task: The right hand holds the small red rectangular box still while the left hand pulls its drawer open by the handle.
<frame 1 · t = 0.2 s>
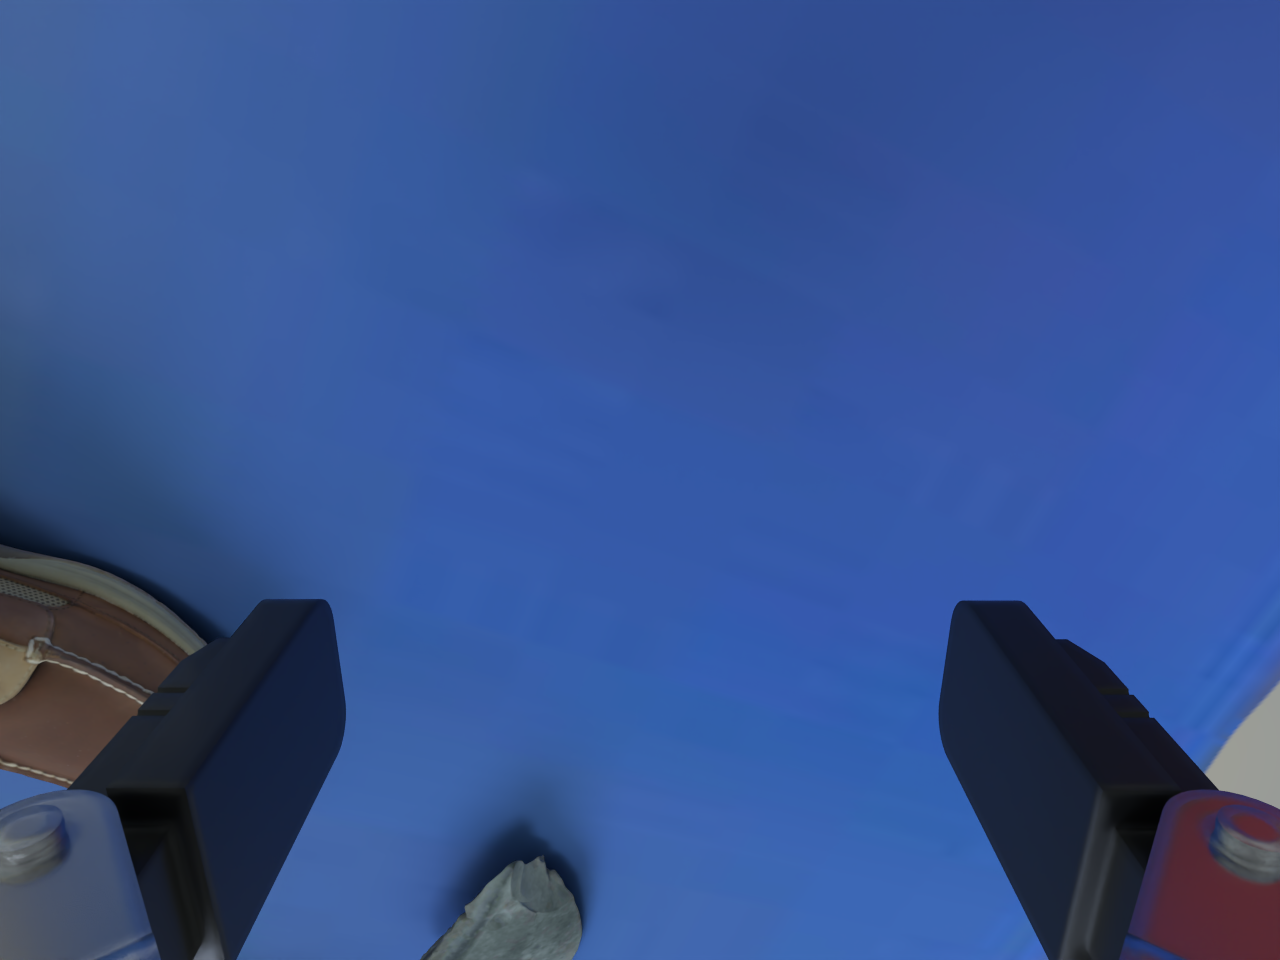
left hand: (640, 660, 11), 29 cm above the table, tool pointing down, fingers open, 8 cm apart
boat shoe: (0, 602, 44), on the table
stone: (521, 911, 51), on the table
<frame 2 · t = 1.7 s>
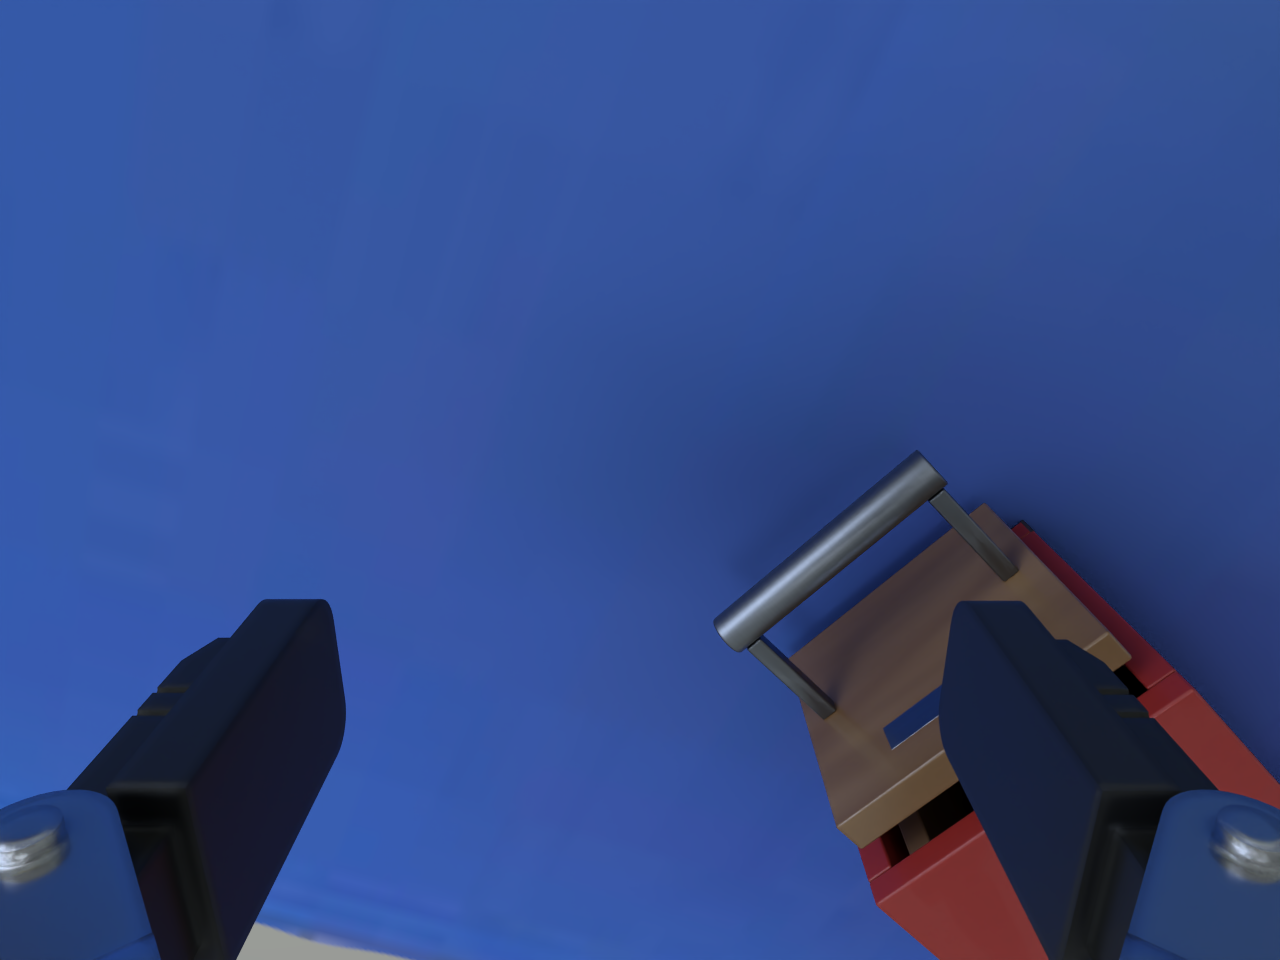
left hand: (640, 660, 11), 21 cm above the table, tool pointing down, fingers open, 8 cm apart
drawer: (1024, 753, 30), point 5 cm above the table, slide at 1.0 cm
red rectangular box: (1046, 744, 37), on the table
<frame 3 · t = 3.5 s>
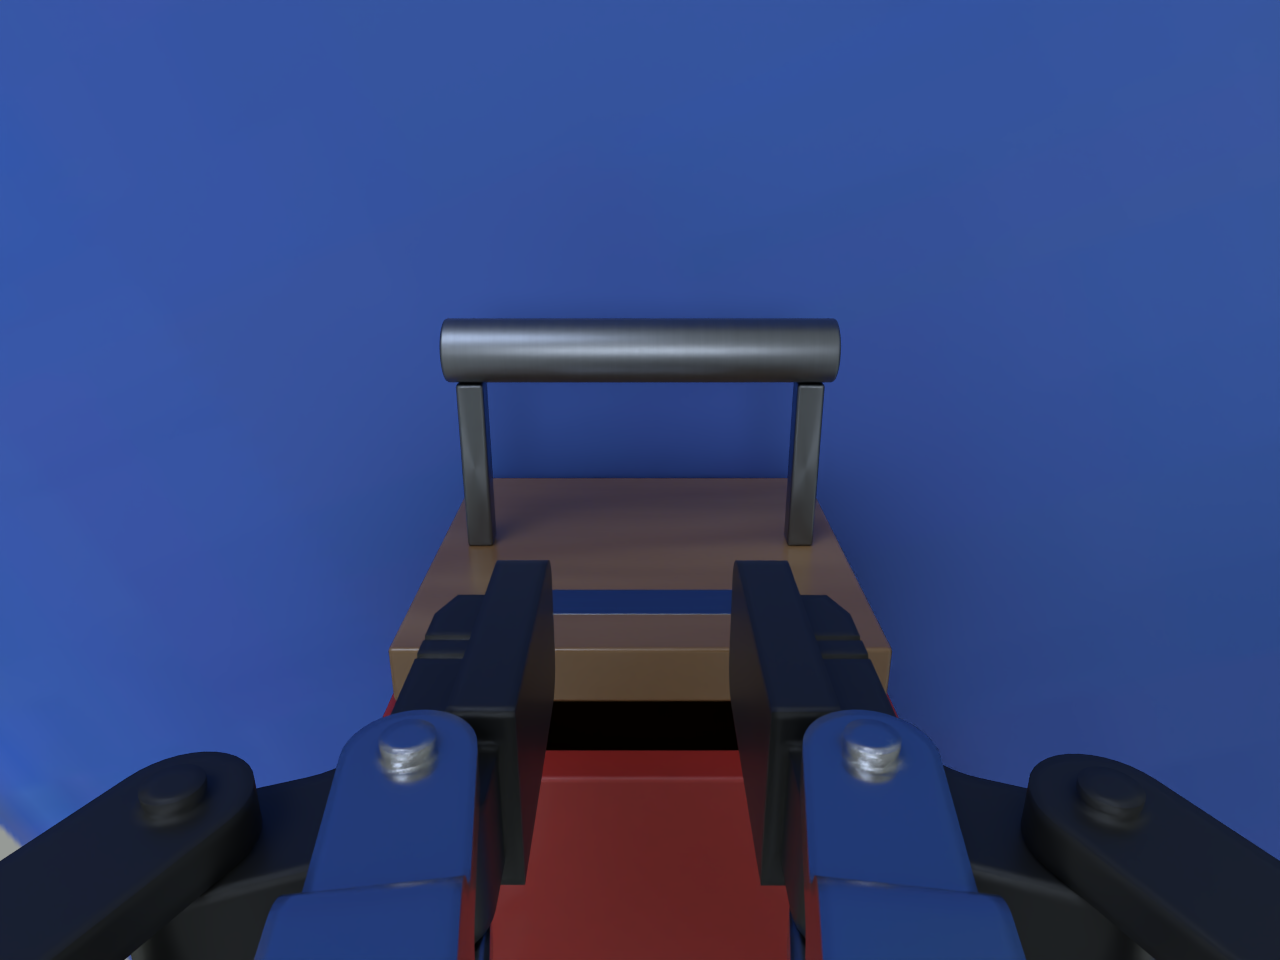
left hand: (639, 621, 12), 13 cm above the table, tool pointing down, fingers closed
drawer: (640, 753, 23), point 5 cm above the table, slide at 1.0 cm
red rectangular box: (640, 779, 30), on the table, touching right hand
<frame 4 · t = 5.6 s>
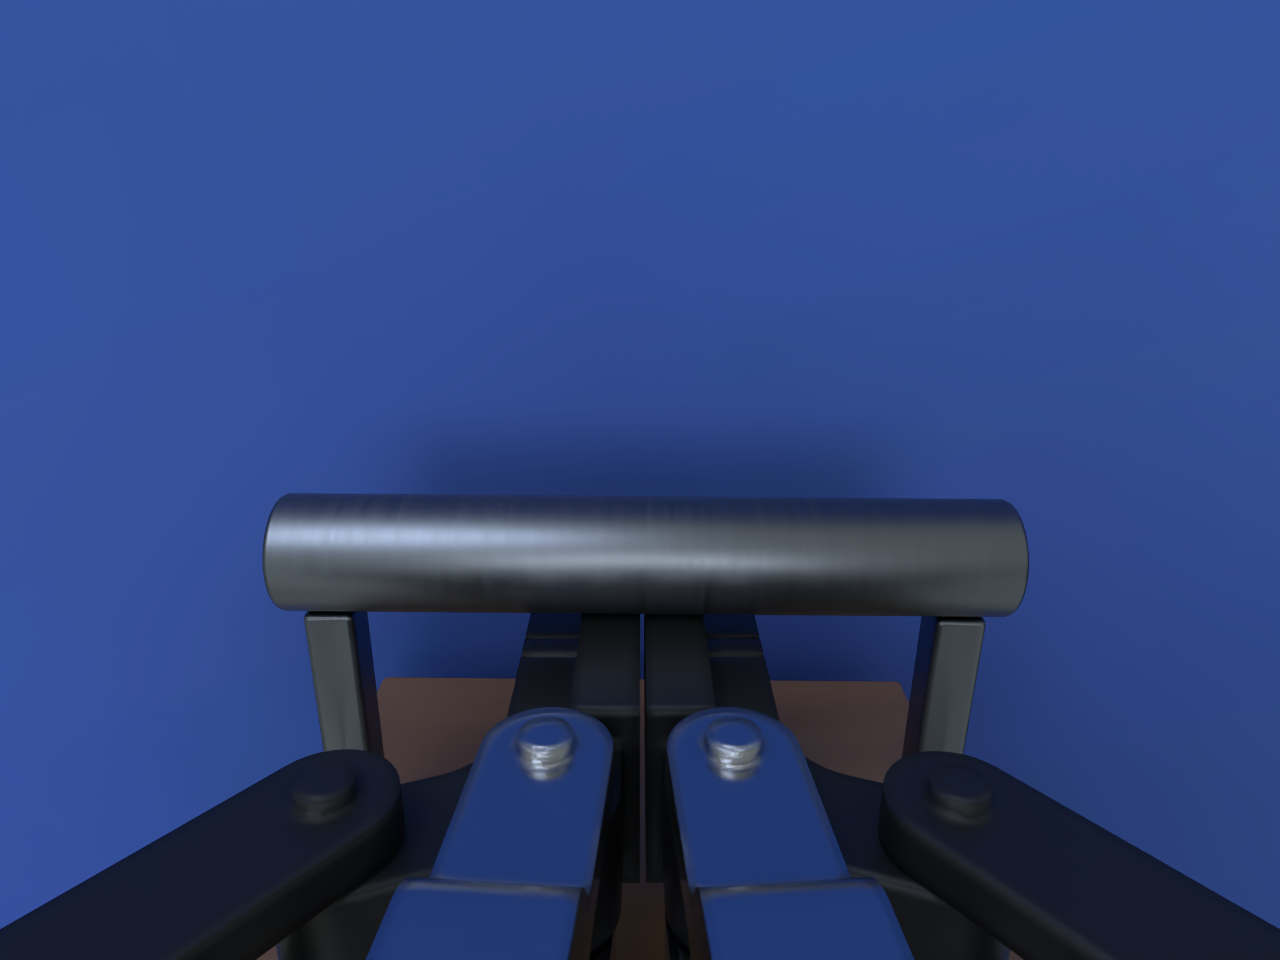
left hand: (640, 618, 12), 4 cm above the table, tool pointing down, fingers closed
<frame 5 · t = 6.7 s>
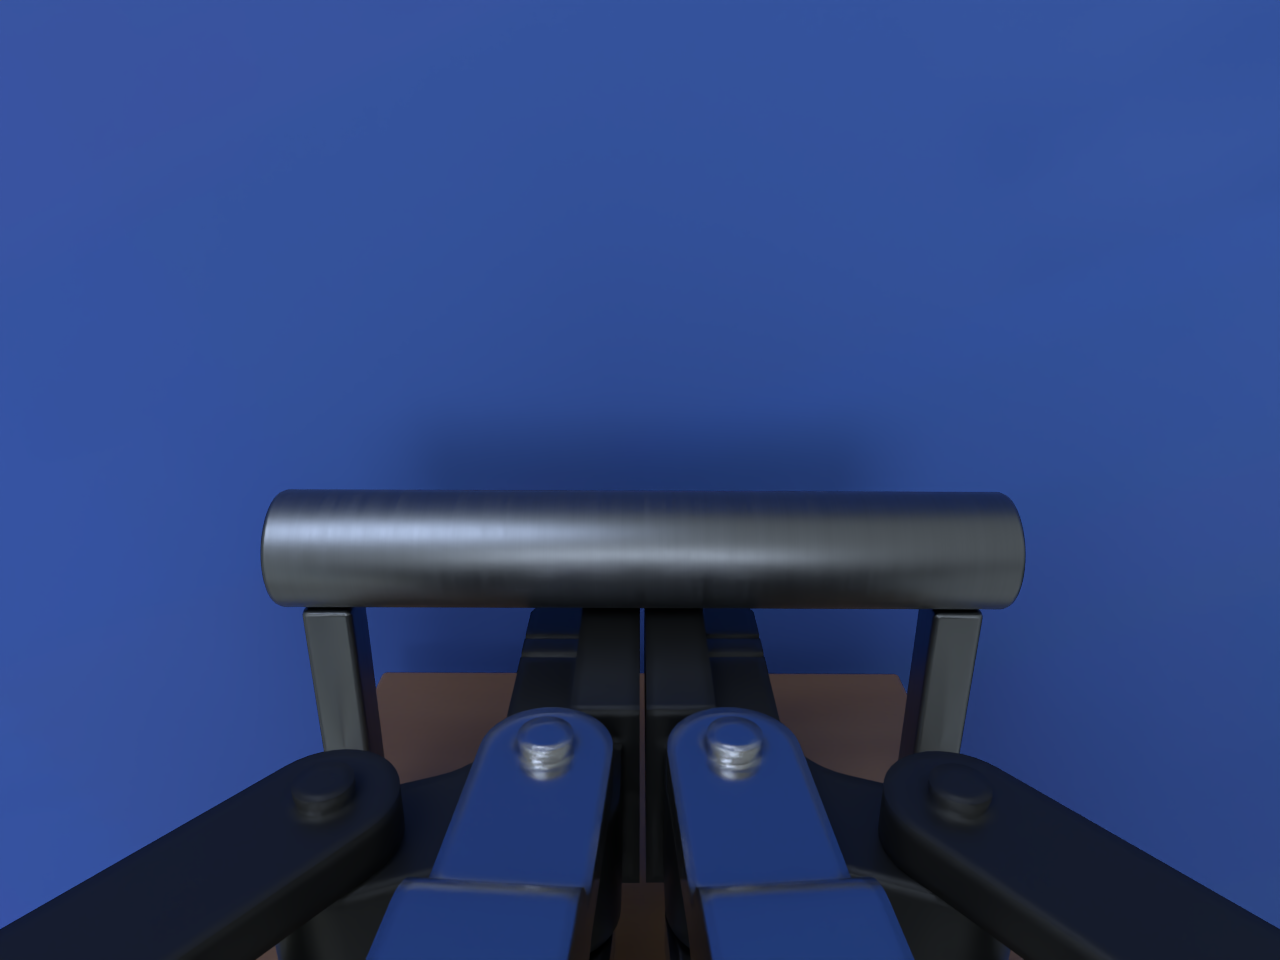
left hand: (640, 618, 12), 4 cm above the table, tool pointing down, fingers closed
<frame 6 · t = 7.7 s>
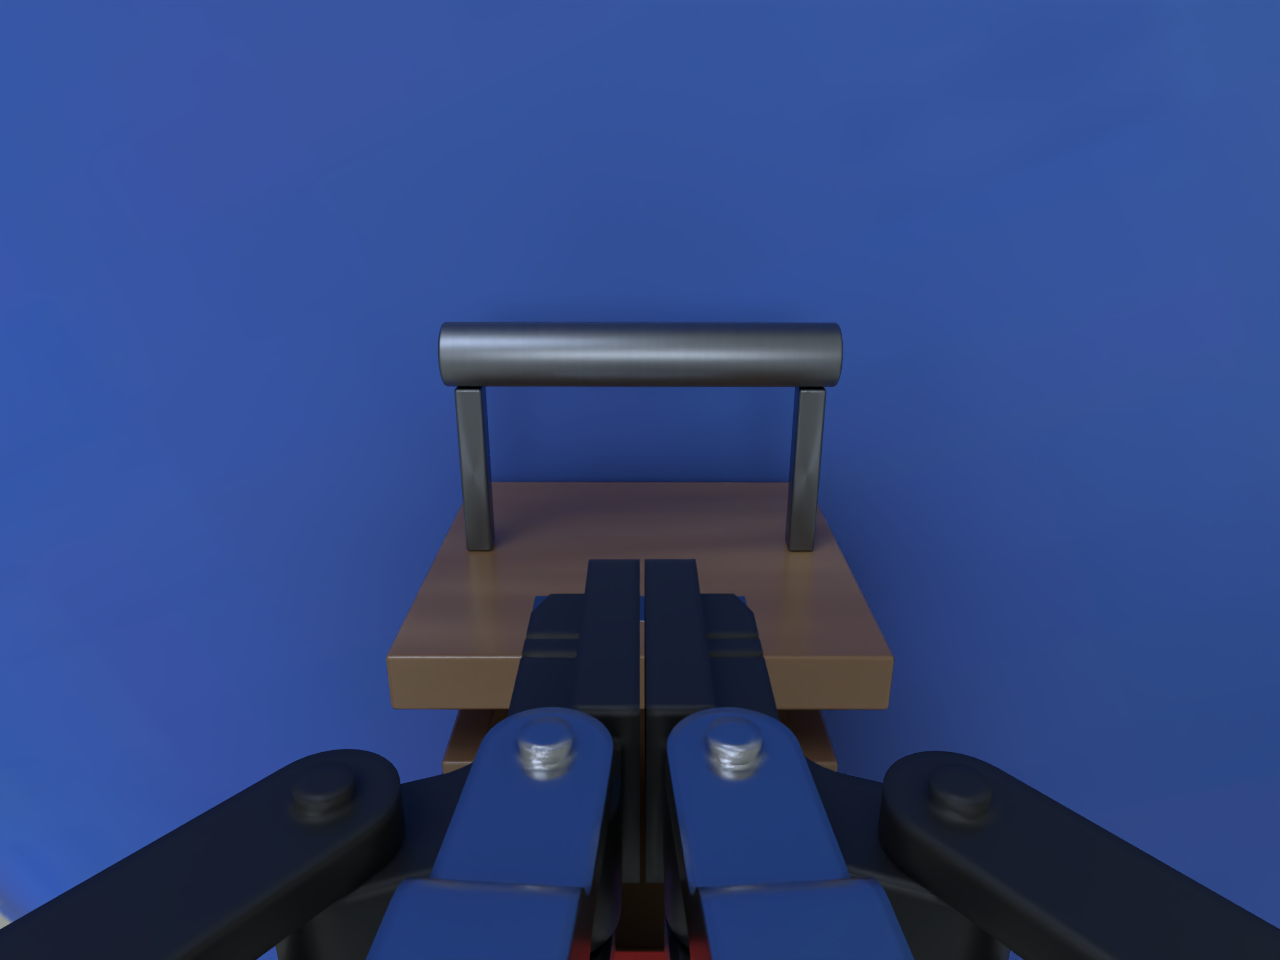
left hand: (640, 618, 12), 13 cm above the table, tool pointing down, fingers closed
drawer: (639, 759, 23), point 5 cm above the table, slide at 6.0 cm
red rectangular box: (639, 897, 31), on the table, touching right hand
when the right hand's fingers open (6 cm above the table, at t = 8.4 s): red rectangular box stays where it is, on the table.
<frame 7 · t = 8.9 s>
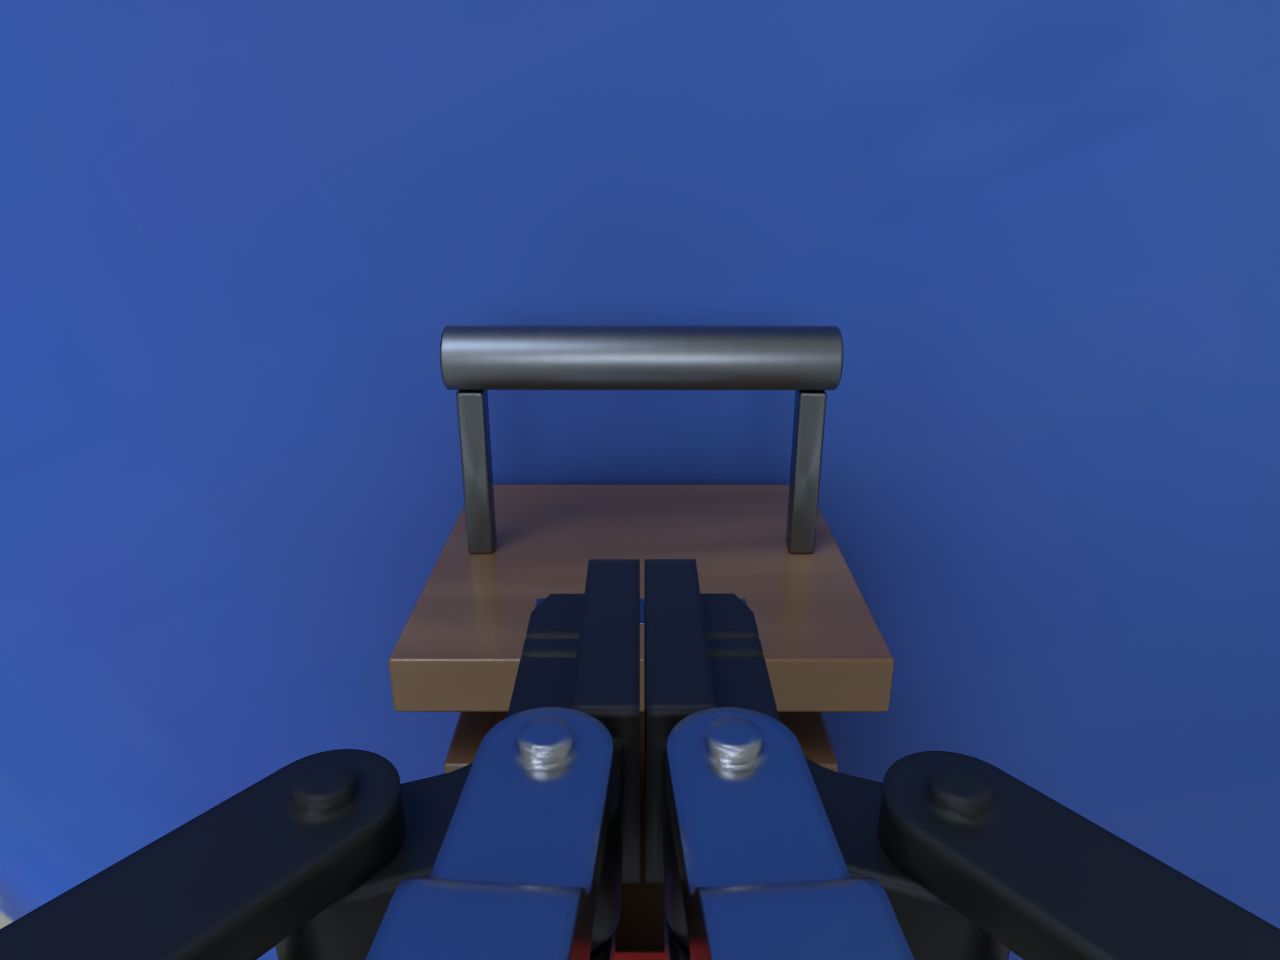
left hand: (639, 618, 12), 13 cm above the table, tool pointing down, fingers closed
drawer: (640, 761, 23), point 5 cm above the table, slide at 6.0 cm
red rectangular box: (640, 898, 31), on the table
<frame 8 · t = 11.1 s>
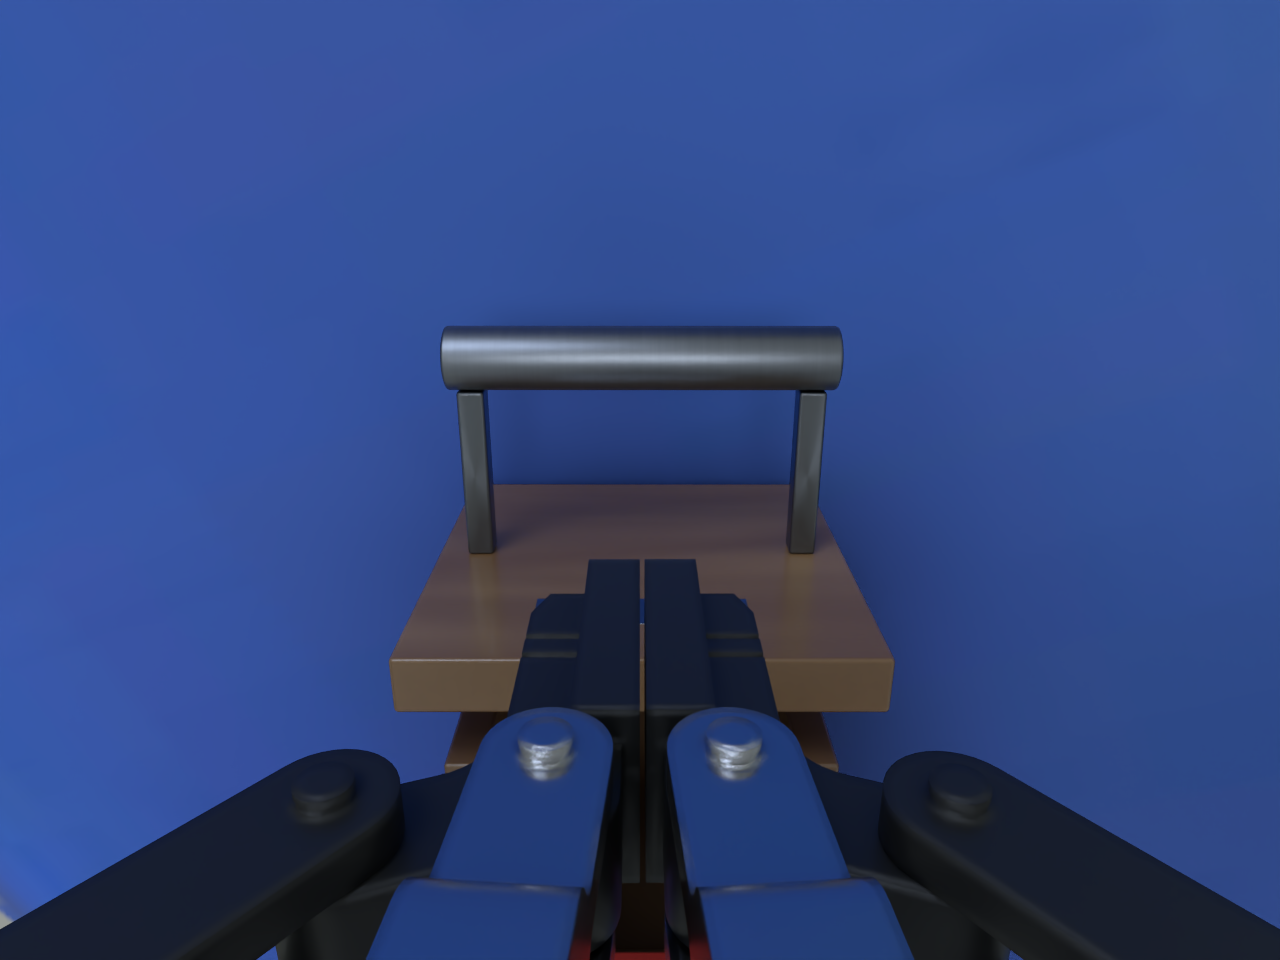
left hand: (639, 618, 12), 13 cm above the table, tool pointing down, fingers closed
drawer: (641, 761, 23), point 5 cm above the table, slide at 6.0 cm
red rectangular box: (640, 898, 31), on the table
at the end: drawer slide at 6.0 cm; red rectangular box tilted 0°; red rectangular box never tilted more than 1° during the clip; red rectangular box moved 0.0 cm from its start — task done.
